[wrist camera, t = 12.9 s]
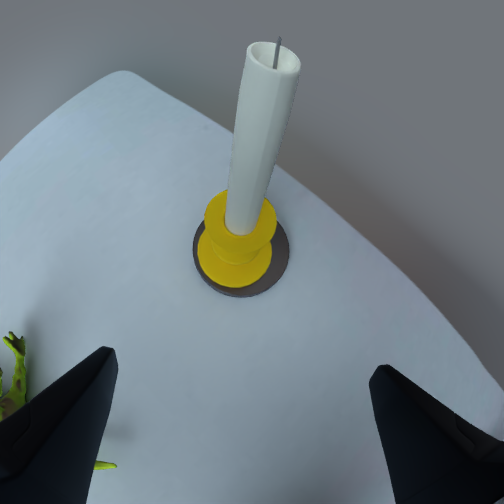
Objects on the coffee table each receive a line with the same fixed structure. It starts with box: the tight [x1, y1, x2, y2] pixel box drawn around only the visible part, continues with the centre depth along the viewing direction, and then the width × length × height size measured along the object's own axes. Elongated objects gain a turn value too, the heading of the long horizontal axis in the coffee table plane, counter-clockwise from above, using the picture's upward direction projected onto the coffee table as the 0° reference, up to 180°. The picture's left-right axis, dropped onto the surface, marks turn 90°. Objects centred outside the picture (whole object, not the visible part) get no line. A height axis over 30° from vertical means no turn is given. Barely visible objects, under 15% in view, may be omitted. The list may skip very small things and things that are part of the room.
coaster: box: [193, 220, 289, 297], centre depth 20 cm, size 7×7×1 cm
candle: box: [197, 37, 301, 288], centre depth 12 cm, size 5×5×16 cm
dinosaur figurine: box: [0, 331, 117, 470], centre depth 11 cm, size 20×10×6 cm, turn 98°
